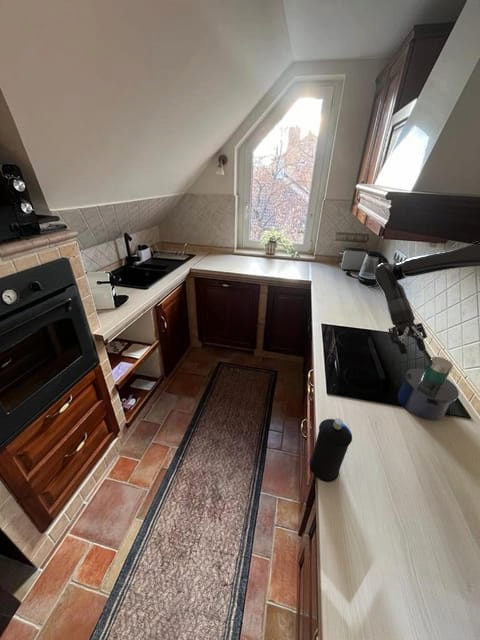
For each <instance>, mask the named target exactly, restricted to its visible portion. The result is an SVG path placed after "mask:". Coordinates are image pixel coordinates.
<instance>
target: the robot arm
mask: <svg viewBox="0 0 480 640" xmlns="http://www.w3.org/2000/svg"><path fill="white" fill-rule="evenodd" d="M478 244H480V243H478ZM473 267H475V268H476V267H480V245H476V244H473V243H469V244H468V245H465V246H461V247H457V248H454V249H450V250H445V251H438V252H432V253H431V252H430V253H426V254H421V255H417V256H413V257H409V258H405V259H404V260H403V261H401V262H398V263H389V262H381V263H379V264H377V266H376V267H375V269H374V278H375V281H376V282H377V284H378V286H379V288H380V289H381V291H382V293H383V296H384V300H385V301H386V302H385V303H386V306H387V311H388V315H389V317H390V320H391V323H392V325H393V326H392V327H389V328H388V330H387V331H388V333H389V338H390V341H391V344H395V345H397V347H398V350H399V352H400V354H401V355H406V354H408V350H407V346H406V344H405V341H406V339H407V338H408V337H410V338H412V339H414V341H416V345H417V348H418V351H420V352H423V351H426V350H427V349H426V344H425V341H424V340H425V339H427V338H428V335H427V333H426V330H425V327H424V325H423V323H422V322H419V323H415V320H416V317H415V315H414V311H413V309H412V306H411V303H410V301H409V299H408V297H407V294H406V291H405V288H404V287H403V285H401V284H400V283H399V282H398V281H402V280H404V279H408V278H412V277H418V276H423V275H424V276H425V275H429V274H434V273H438V272H443V271H449V270H455V269H463V268H473Z"/></svg>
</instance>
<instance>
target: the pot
mask: <svg viewBox="0 0 480 640" xmlns="http://www.w3.org/2000/svg"><path fill="white" fill-rule="evenodd" d="M425 370H426V368H425V369H424V368H411V369H409V370H407V371H406V372H405V375H404V380H403V382H402V385H401V386H400V389H399V391H398V393H397V400H398V402H399V403H400V405H401V406H402V407H403V408H404V409H405V410H406V411H408V412H409V413H410V414H412V415H413V416H415V417H418V418H421V419H423V420H426V421H440V420H442V419H444V417H445V415H446V414H447V412H448V411H449V409H450V407H451V406H452V404H453V403H454V402H455V401H456V400H457V399H458V398H459V395H460V393H459V390H458V387H457V386H456V385H455V384H454V383H453V382H452V381H451V380H450V379H448V377H447V378H446V380H445V382H444V383H443V385H442V387H441V388H440V389H432V388H429V387H427V386H426V385H424V384H423V383H422V381H421V378H422V376H423V374H424V372H425Z"/></svg>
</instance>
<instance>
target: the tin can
mask: <svg viewBox="0 0 480 640" xmlns="http://www.w3.org/2000/svg"><path fill="white" fill-rule="evenodd" d="M453 368H454V365H453V363H452V362H451V361H450V360H448V359H446V358H444V357H440V356H433V357H431V358H430V361H429V363H428V365H426V368H425V372H424V374H423V376H422V378H421V381H422V383H423V384H424V385H426V386H427V387H429V388H432V389H440V388H441V387H442V385H443V383H444V382H445V380H446V378H447V379H448V376H449V375H450V373H451V371H452V369H453Z"/></svg>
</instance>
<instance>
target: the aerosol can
mask: <svg viewBox="0 0 480 640" xmlns="http://www.w3.org/2000/svg"><path fill="white" fill-rule="evenodd" d="M352 434H353V433H352V431H351V430H350V428H349V427H348V426H347V425H346V424H345V423H344V421H343V419H341V418H338V417H336V418H334V419H333V418H327V419H324V420H322V421H321V422H320V423H319V425H318V433H317V436H316V440H315V444H314V447H313V450H312V451H313V452H312V455H311V456H310V459H309V469H310V471H311V473H312V474H313V476H315V478H317V479H318V480H320V481H322V482H326V483H331V482H335V480H337V479H338V477H339V475H340V469H341V466H342V465H343V461H344V459H345V456H346V453H347V452H348V451H347V450H348V449H349V446H350V444H351V443H352V441H353V435H352Z"/></svg>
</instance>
